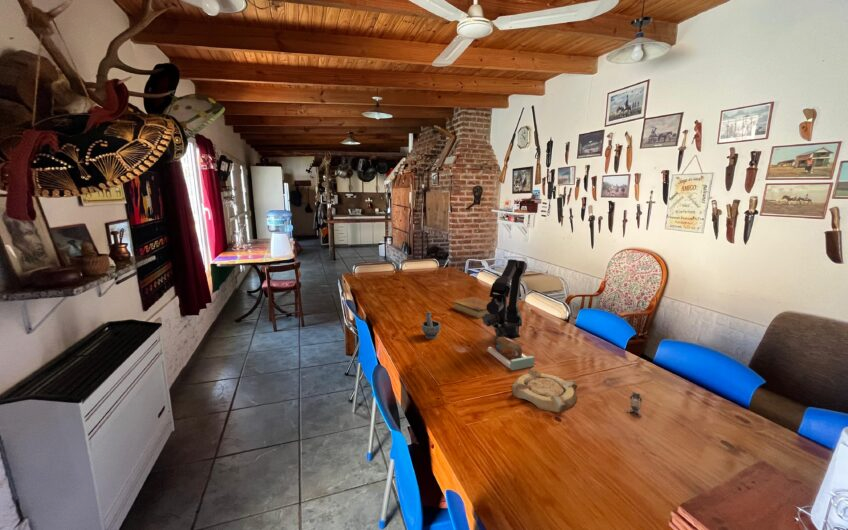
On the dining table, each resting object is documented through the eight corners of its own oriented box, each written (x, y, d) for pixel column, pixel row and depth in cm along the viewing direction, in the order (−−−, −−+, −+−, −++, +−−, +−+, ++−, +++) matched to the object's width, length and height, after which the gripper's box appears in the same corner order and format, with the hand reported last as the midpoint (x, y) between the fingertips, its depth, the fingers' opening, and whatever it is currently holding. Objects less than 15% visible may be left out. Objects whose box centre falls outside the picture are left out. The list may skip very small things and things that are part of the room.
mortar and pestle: (442, 339, 175) (443, 316, 173) (425, 341, 173) (425, 318, 170) (435, 331, 186) (435, 309, 184) (419, 333, 183) (418, 311, 181)
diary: (499, 313, 216) (500, 304, 215) (478, 319, 205) (478, 310, 204) (473, 304, 234) (473, 296, 233) (452, 309, 223) (453, 300, 222)
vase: (625, 403, 121) (629, 388, 119) (643, 410, 118) (647, 395, 116) (623, 410, 117) (626, 395, 115) (641, 418, 113) (645, 402, 112)
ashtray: (546, 421, 112) (547, 407, 111) (498, 386, 132) (498, 374, 132) (594, 401, 123) (596, 388, 122) (543, 372, 143) (544, 361, 142)
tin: (493, 351, 162) (494, 334, 160) (498, 349, 163) (499, 333, 162) (517, 364, 149) (518, 346, 147) (522, 362, 151) (523, 344, 149)
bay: (507, 347, 166) (508, 339, 165) (533, 365, 148) (534, 357, 147) (487, 351, 162) (488, 343, 161) (512, 370, 144) (512, 361, 143)
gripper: (475, 304, 165) (474, 334, 168) (496, 316, 148) (494, 350, 151) (495, 301, 169) (493, 331, 172) (518, 313, 152) (516, 346, 155)
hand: (498, 339), depth 162 cm, fingers closed
